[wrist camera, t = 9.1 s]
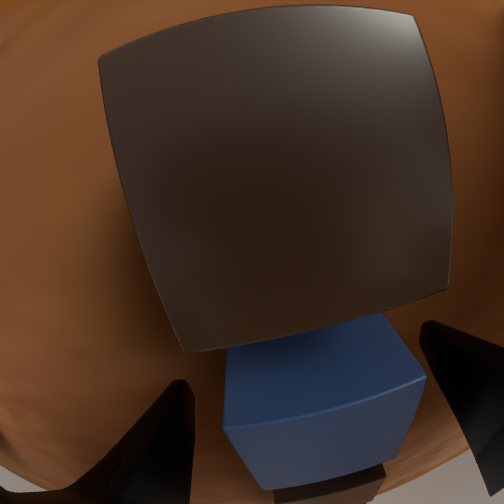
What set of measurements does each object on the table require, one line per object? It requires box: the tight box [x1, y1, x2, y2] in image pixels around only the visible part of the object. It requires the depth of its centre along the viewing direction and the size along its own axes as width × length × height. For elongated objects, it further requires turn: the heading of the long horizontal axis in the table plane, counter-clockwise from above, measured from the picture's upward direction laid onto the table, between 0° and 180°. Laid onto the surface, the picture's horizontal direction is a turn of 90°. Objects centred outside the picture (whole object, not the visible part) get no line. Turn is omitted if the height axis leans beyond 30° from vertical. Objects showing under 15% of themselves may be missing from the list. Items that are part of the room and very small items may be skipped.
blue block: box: [222, 312, 427, 490], centre depth 7 cm, size 4×4×4 cm
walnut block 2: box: [273, 463, 387, 504], centre depth 9 cm, size 4×4×4 cm
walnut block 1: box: [98, 4, 453, 354], centre depth 5 cm, size 4×4×4 cm
